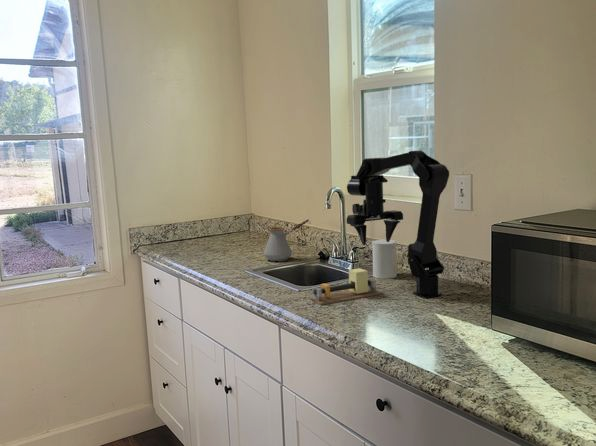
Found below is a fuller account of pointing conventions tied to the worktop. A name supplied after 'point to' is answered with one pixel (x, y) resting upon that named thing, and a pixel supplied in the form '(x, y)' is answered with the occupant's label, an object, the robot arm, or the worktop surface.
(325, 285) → the band
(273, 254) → the coffee pot
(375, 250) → the cup
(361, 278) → the sleeve
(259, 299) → the worktop surface
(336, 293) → the rod on a board
